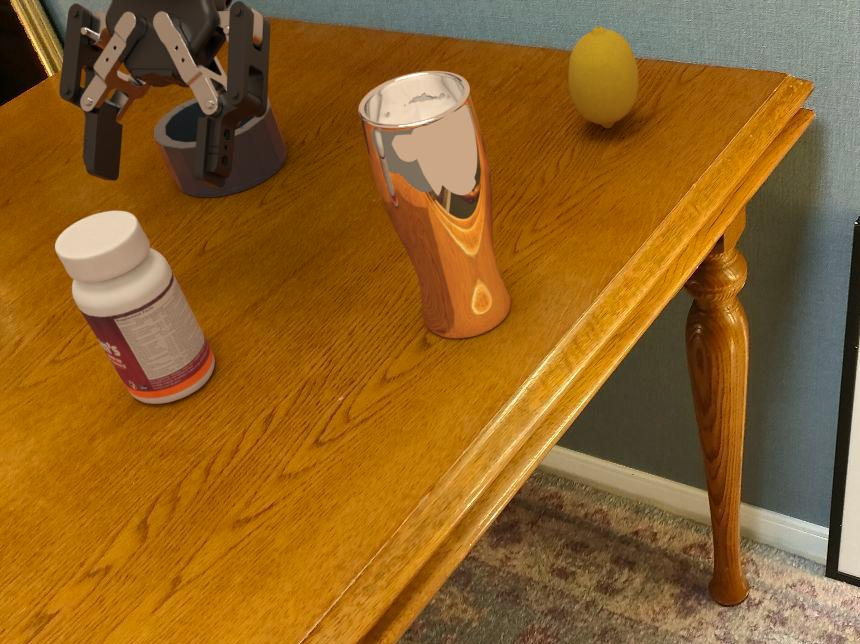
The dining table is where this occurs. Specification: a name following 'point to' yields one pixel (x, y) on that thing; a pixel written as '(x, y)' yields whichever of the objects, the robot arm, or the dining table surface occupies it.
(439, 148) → the beer glass
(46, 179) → the dining table surface
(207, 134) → the robot arm
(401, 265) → the dining table surface
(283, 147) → the holder
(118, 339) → the pill bottle
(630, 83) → the lemon
